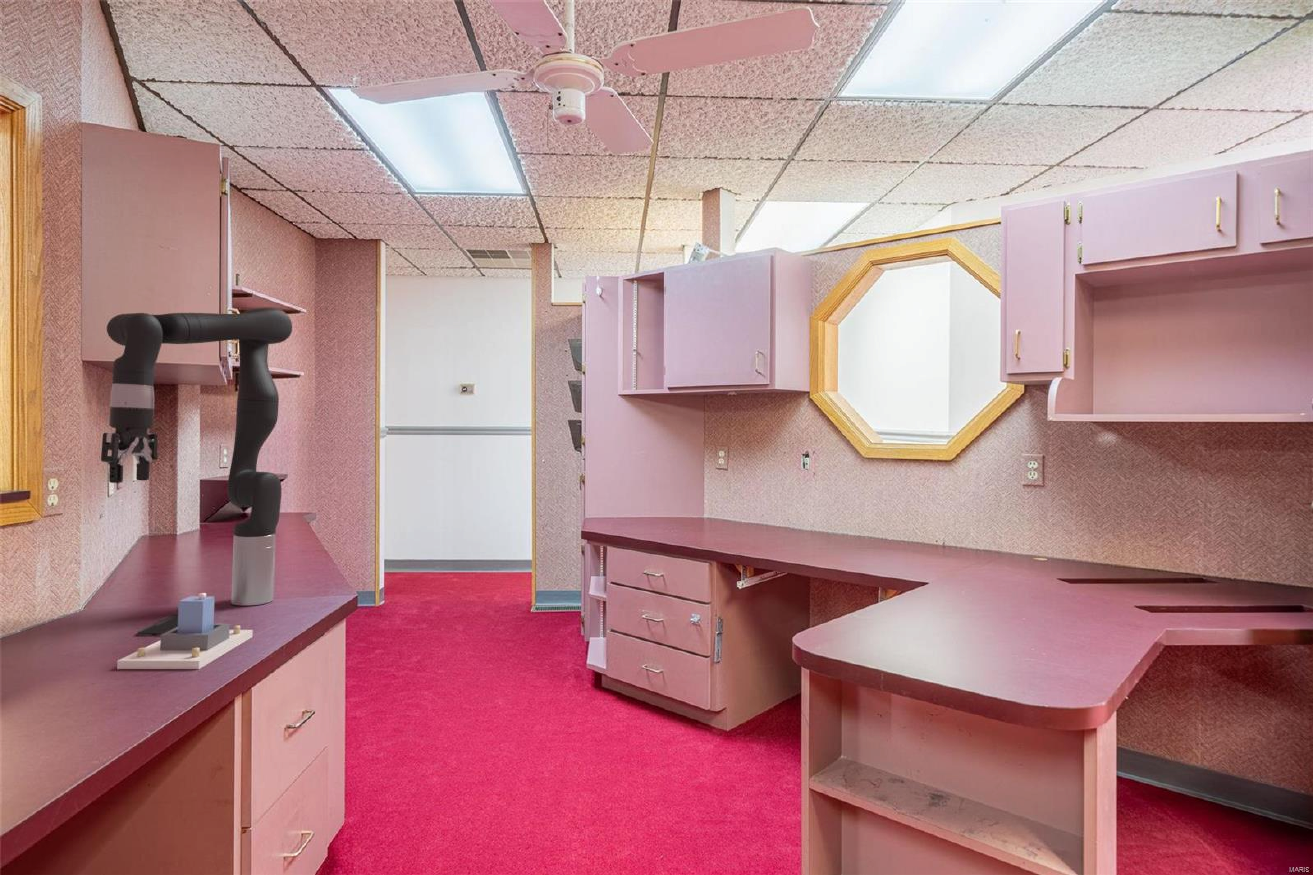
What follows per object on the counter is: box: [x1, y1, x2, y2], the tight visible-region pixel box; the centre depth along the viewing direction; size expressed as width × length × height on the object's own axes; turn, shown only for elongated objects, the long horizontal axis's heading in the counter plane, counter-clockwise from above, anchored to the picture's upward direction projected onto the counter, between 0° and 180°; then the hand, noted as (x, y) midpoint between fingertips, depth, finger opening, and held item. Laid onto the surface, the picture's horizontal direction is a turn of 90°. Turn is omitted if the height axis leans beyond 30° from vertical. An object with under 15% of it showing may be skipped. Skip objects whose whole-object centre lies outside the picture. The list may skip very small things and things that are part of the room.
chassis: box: [116, 622, 254, 670], centre depth 134 cm, size 20×14×4 cm
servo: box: [177, 592, 215, 633], centre depth 134 cm, size 4×4×10 cm
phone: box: [137, 613, 178, 637], centre depth 151 cm, size 8×1×15 cm
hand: (129, 481), depth 146 cm, fingers open, 8 cm apart
